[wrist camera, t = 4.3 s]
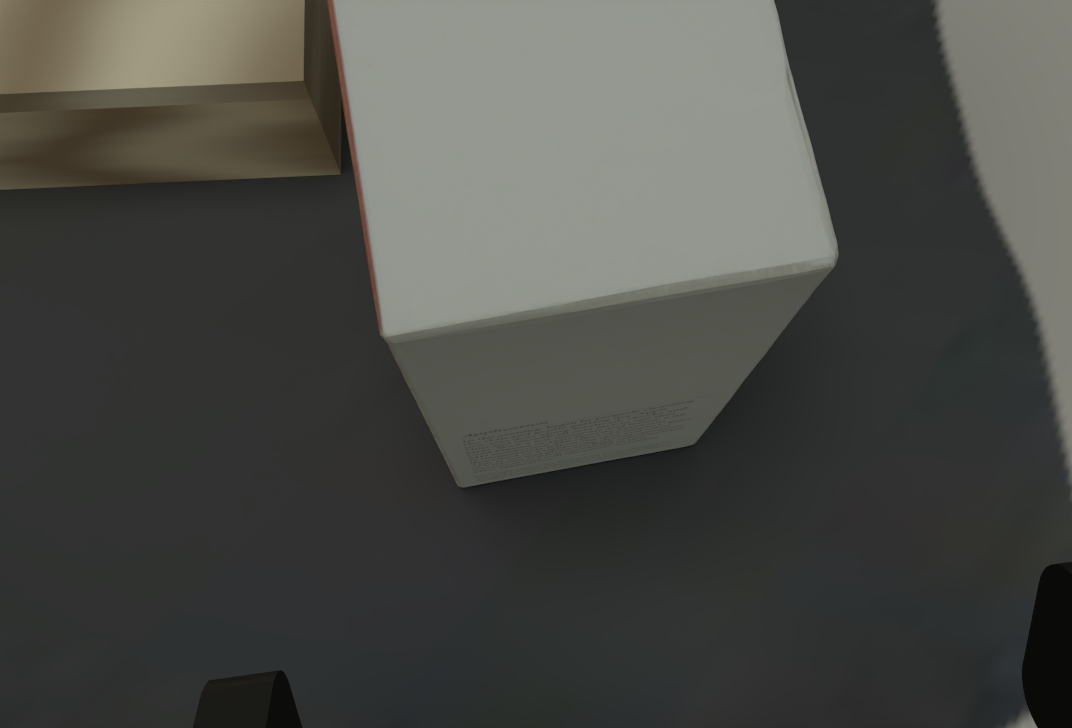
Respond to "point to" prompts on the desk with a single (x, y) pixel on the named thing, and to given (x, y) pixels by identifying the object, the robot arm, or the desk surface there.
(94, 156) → the birch riser
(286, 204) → the desk surface
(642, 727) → the desk surface
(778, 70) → the small box
